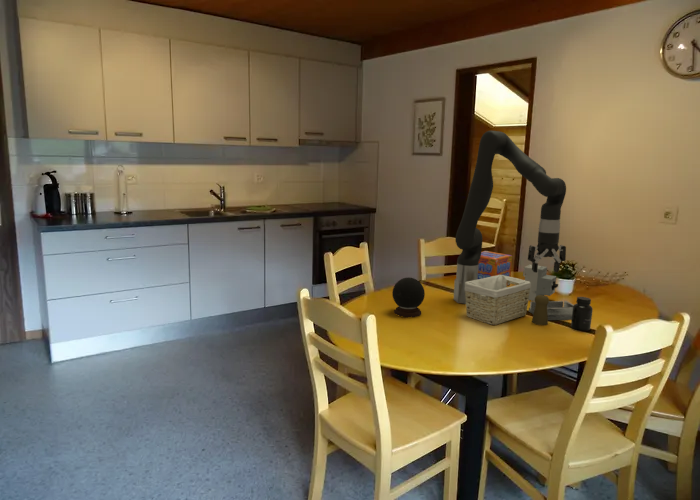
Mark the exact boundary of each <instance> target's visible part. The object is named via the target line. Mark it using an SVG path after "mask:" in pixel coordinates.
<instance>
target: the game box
mask: <svg viewBox="0 0 700 500" xmlns="http://www.w3.org/2000/svg"><path fill="white" fill-rule="evenodd" d="M512 263H513V255H511V254H505V253H500V252H494V251H490V250H489V251H488V250H484V251H481V257H480V259H479V264H478V279H483V278H487V277H491V276H497V275H504V276H509V277H512V276H511V275H512ZM509 286H511V283H507V286H506V287H509Z"/></svg>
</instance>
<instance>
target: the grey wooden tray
mask: <svg viewBox="0 0 700 500" xmlns="http://www.w3.org/2000/svg"><path fill="white" fill-rule="evenodd" d="M535 305H536V302H535V301H530V304H529V307H528V312H529V313H531V314H532V315H533V314H534V310H535ZM574 305H575V304H573V303H571V302H570V301H568V300H564V301H562V300H555V301H554V300H552V301H550V300H549V303H548V304H547V314H548V321H570V320H572V312H573V306H574Z"/></svg>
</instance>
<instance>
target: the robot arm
mask: <svg viewBox="0 0 700 500" xmlns="http://www.w3.org/2000/svg"><path fill="white" fill-rule="evenodd" d="M495 155H499V156H502V157H503V158H506V159H507V160H508V161H509V162H510V163H512V165H513V166H514V169H515V170H516V171H517V172H518V173H519V175H521V176H522V177H523V178H524V179H526V180H527V181H529V182H530V183H531V184H532V186H533V187H534V188H535V190H536V191H537V192H538V193H539V194H540V195H542V196H544V197H545V198H546V201H545V202H544V203H543V204H542V205H541V208H540V217H539V218H540V219H539V224H538V232H537V233H538V234H537V245H529V246H528V247H529V248H528V254H527V260H528V261H529V262H531V263H532V264H531V265H532V270H533V272H535V273H537V270H538V266H539V261H540V260H542V259H543V258H553V261H554V262H553V272H554V273H559V271H560V267H561V266H560V265H561V263H562V262H565V261H567V260H566V257H567V254H566V253H567V246H565V245H562V244H561V245H559V243H560V234H561V233H560V230H561V212H562V207H563V203H564V200H565V197H566V193H567V185H566V182H565V181H564V180H563V178H559V177H551V176H549V175H547V171H546V169H545V168H544V167H543V166H541V165H540V164H539V163H537V162H536V161H535V160H534V159H532V158H531V157H530V156H528V155H527V154H526V153H524V151H522V150H521V149H520V148H519V147H518V145H516V143H515V142H514V141H513V140H512V139H511V138H510V136H508V135H507V134H506V132H504V131H503V132H502V131H499V130H497V131H496V130H488V131H485V132H484V133H483V134H482V136H481V138H480V140H479V144H478V152H477V157H476V163H475V167H474V172H473V176H472V178H471V179H472V180H471V184H470V187H469V191H468V195H467V200H466V202H465V207H464V210H463V214H462V218H461V220H460V223H459V225H458V228H457V230H456V234H455V244H456V246H457V248H458V249H460V250H461V252H460V254H459V255H458V257H457V259H456V260H457V261H456V275H455V276H456V278H455V279H454V285H453V287H454V289H453V301H455V302H456V303H458V304H464V305H466V296H465V294H466V293H465V282H467V281H473V280H478V264H479V259H480V257H481V252H483V251H482V250H483V234H482V231H480V229H479V228H477V225H478V222H479V220H480V218H481V216H482V215H483V213H484V212H485V210H486V208H487V207H488V205H489V203H490V200H491V198H492V193H493V190H494V179H493V173H492V172H493V171H492V169H493V168H492V167H493V163H494V158H495ZM536 251H537V252H536ZM558 251H559V252H558ZM557 252H558V253H559V254H558V253H557Z"/></svg>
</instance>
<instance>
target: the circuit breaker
mask: <svg viewBox="0 0 700 500" xmlns="http://www.w3.org/2000/svg"><path fill="white" fill-rule="evenodd" d="M523 268H524V269H523V272H522V277H524V280H525V281H529V282H530V283H531V288H530V293H529V298H528V301H530V300H531V301H530V302H535V297H536V296H537V295H544V296H547V297H549V296H552V295H553V294H555V293H556V289H557V288H559V284H558V283H557V276H556V275H550V274H548V273H547V272H548V266H542V265H538V270H537V273H535V272H533V270H532V264H528V265H525V266H524V267H523Z"/></svg>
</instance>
